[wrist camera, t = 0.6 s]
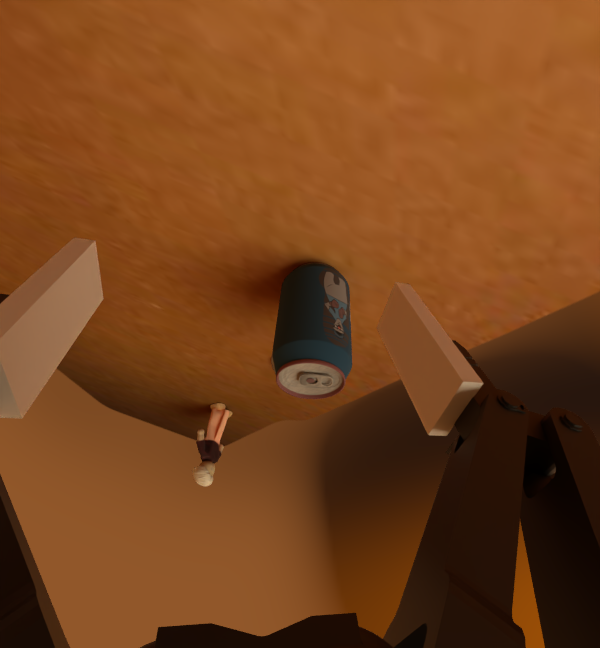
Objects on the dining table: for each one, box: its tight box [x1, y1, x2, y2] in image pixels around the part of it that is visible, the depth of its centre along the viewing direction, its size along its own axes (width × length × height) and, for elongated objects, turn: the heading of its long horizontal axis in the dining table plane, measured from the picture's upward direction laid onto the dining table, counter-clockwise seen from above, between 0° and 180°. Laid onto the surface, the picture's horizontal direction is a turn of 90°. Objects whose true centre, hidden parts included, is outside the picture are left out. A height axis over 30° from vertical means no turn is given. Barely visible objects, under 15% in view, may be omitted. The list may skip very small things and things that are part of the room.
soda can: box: [271, 263, 352, 399], centre depth 32 cm, size 7×7×12 cm
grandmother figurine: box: [192, 403, 232, 486], centre depth 55 cm, size 8×4×13 cm, turn 27°
